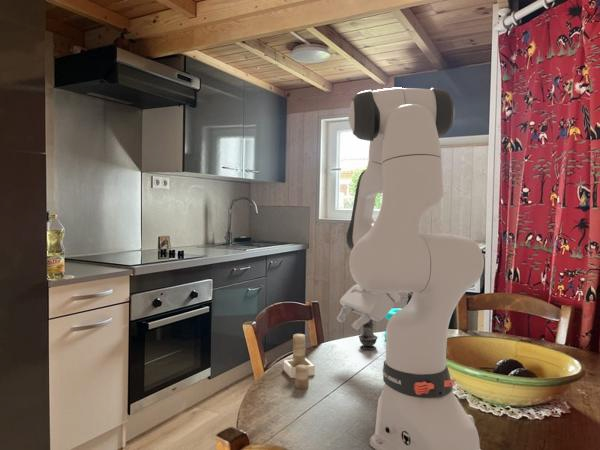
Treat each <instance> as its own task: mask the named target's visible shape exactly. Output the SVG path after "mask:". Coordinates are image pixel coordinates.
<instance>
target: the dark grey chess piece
mask: <svg viewBox="0 0 600 450" xmlns="http://www.w3.org/2000/svg"><path fill="white" fill-rule="evenodd" d="M373 322H374V320H372V319H370V320H369V322H367V323H366V324H364V325H362V327H363V331H362V334H360V335H358V338H359V343H360V344H361V345H360V346H359V350H361V351H365V352H366V351H367V352H371V351H372V352H373V351H377V347H376V346H375V344H376V343H377V339H378V336H377V335H375V334H374V323H373Z"/></svg>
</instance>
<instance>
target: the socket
mask: <svg viewBox="0 0 600 450" xmlns="http://www.w3.org/2000/svg"><path fill="white" fill-rule="evenodd" d="M305 365H307V366H308V367H309V377H311V376H315V365H314V364H313V363H312V361H310V360H309V359H307V357H305ZM283 370H284V372H285V373H286V374H287V376H288V377H289V378H291V379H296V367H293V358H292V359H285V360H283Z"/></svg>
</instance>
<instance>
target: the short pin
mask: <svg viewBox="0 0 600 450" xmlns="http://www.w3.org/2000/svg"><path fill="white" fill-rule="evenodd" d="M309 377H310V376H309V367H308V366H307V365H297V366H296V378H295V389H297V390H301V391H302V390H308V389H309Z"/></svg>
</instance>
